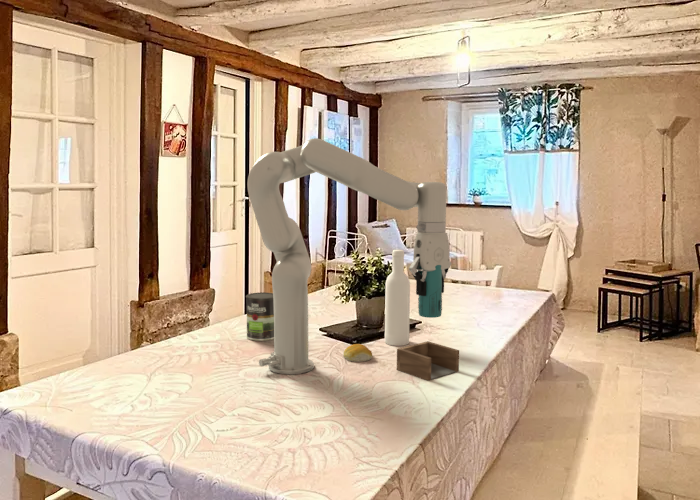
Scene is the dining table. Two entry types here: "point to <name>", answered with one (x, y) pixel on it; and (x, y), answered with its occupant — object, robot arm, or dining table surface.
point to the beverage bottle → (432, 295)
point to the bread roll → (357, 353)
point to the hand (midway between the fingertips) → (430, 293)
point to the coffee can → (260, 316)
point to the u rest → (427, 360)
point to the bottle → (397, 303)
